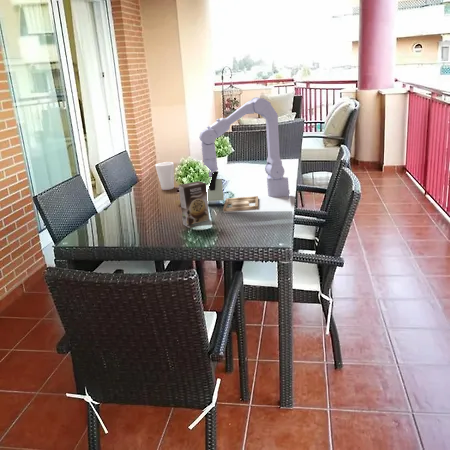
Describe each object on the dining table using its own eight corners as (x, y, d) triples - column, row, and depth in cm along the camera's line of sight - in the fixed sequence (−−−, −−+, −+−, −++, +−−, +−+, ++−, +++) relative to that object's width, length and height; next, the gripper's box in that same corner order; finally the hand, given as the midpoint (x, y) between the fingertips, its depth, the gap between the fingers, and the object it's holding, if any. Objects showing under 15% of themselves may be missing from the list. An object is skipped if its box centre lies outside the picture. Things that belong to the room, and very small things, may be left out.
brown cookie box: (189, 228, 183) (184, 187, 178) (182, 224, 189) (177, 184, 184) (210, 223, 187) (206, 182, 182) (203, 219, 193) (199, 180, 188)
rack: (258, 201, 210) (257, 196, 209) (258, 212, 195) (257, 206, 194) (226, 203, 211) (226, 198, 211) (223, 214, 196) (223, 208, 196)
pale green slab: (223, 198, 209) (221, 178, 206) (223, 200, 207) (221, 179, 204) (205, 200, 210) (203, 179, 207) (204, 201, 208) (202, 181, 205)
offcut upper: (248, 205, 201) (248, 200, 200) (249, 207, 197) (248, 203, 197) (231, 207, 201) (231, 202, 200) (232, 209, 197) (232, 205, 196)
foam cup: (155, 190, 250) (151, 165, 246) (164, 186, 258) (160, 162, 254) (171, 190, 246) (168, 165, 242) (179, 186, 254) (176, 161, 250)
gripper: (202, 156, 210) (205, 186, 214) (198, 162, 196) (201, 194, 200) (218, 154, 209) (221, 185, 213) (215, 161, 196) (218, 193, 200)
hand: (212, 189), depth 207 cm, fingers closed on pale green slab, 2 cm apart
